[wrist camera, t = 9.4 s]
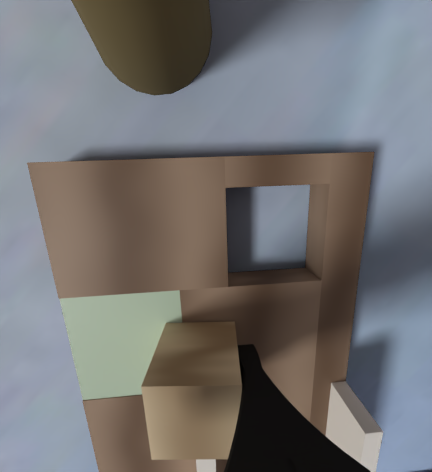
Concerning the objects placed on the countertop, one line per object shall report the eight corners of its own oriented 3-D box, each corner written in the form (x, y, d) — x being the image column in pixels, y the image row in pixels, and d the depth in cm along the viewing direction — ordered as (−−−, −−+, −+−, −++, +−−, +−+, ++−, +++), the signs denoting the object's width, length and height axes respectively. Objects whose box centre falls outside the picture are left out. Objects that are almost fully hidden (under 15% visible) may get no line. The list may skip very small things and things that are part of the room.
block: (234, 321, 12) (241, 385, 8) (235, 377, 13) (242, 459, 9) (165, 322, 12) (141, 386, 8) (171, 378, 13) (151, 459, 9)
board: (347, 157, 13) (374, 151, 11) (316, 470, 19) (330, 502, 17) (55, 166, 12) (27, 162, 10) (122, 494, 18) (113, 532, 16)
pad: (182, 275, 14) (179, 289, 12) (189, 365, 15) (188, 389, 13) (79, 282, 13) (59, 298, 11) (97, 373, 15) (82, 400, 13)
